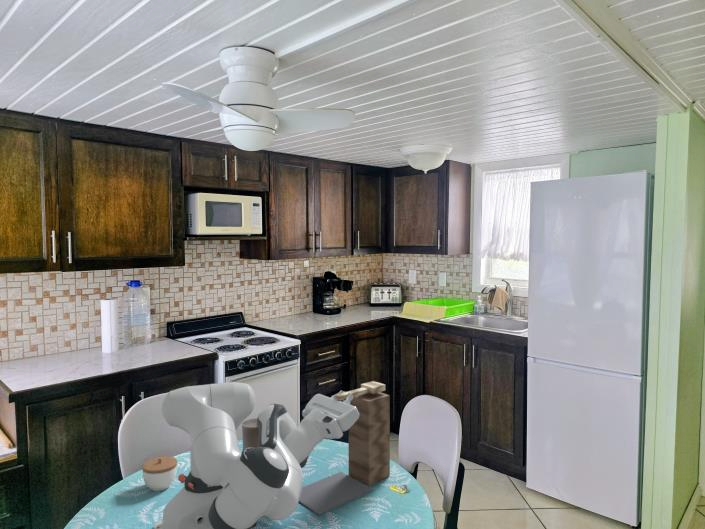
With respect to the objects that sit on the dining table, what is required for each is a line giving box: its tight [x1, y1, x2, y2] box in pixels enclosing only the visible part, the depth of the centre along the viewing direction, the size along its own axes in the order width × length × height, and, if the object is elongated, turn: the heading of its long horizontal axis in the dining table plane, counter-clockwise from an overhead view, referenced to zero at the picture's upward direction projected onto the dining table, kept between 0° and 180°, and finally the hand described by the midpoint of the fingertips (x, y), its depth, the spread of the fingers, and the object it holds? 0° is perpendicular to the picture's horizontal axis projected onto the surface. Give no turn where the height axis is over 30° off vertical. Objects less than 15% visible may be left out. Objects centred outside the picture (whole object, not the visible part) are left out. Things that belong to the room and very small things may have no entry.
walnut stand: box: [348, 392, 391, 487], centre depth 164 cm, size 10×10×28 cm
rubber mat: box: [298, 471, 374, 516], centre depth 153 cm, size 22×16×1 cm
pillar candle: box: [241, 417, 259, 451], centre depth 178 cm, size 10×10×15 cm
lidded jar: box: [141, 455, 178, 492], centre depth 158 cm, size 11×11×9 cm
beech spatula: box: [334, 380, 386, 402], centre depth 161 cm, size 19×6×2 cm, turn 132°
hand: (347, 393), depth 157 cm, fingers closed on beech spatula, 2 cm apart
